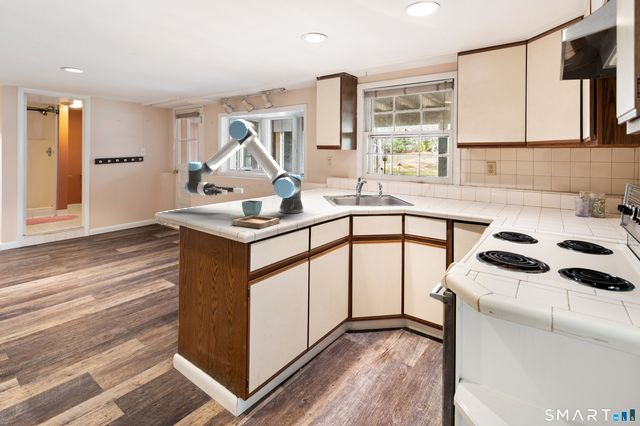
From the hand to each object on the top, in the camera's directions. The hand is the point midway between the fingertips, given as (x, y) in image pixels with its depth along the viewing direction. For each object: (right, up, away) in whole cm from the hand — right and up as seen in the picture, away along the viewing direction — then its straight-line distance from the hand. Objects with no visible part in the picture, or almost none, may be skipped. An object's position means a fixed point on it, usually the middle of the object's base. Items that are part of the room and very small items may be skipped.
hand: (235, 191), depth 203 cm
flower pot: (+10, -15, -3) cm, 18 cm away
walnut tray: (+16, -18, -22) cm, 33 cm away
